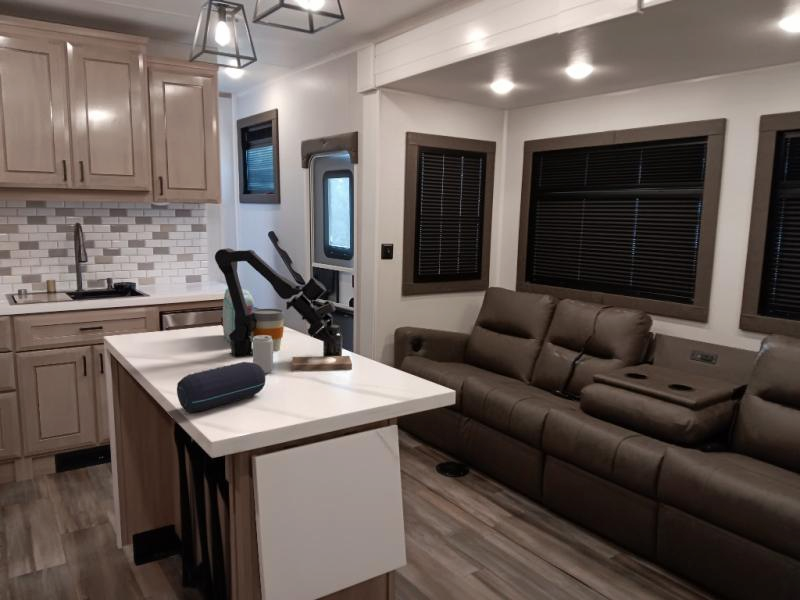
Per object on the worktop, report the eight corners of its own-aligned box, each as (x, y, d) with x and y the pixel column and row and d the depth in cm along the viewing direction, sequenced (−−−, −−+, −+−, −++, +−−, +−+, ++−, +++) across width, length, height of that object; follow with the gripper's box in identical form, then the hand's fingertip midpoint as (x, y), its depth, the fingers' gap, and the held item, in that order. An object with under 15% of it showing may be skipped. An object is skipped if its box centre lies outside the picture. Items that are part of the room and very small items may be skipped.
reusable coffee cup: (288, 346, 229) (288, 309, 227) (279, 354, 216) (278, 314, 214) (257, 345, 230) (257, 307, 228) (246, 352, 218) (245, 313, 215)
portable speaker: (247, 389, 173) (246, 356, 172) (269, 396, 167) (269, 362, 166) (169, 410, 153) (168, 373, 152) (191, 419, 147) (190, 381, 146)
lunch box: (220, 334, 249) (219, 284, 246) (244, 332, 254) (243, 283, 250) (230, 347, 225) (229, 292, 222) (257, 345, 230) (256, 291, 227)
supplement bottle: (319, 358, 211) (319, 326, 209) (330, 355, 217) (330, 323, 215) (335, 361, 208) (335, 328, 206) (345, 357, 214) (345, 325, 212)
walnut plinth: (292, 370, 194) (292, 364, 194) (292, 362, 205) (292, 356, 205) (351, 369, 198) (352, 363, 197) (349, 361, 208) (349, 355, 208)
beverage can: (268, 375, 188) (267, 339, 186) (249, 374, 189) (249, 337, 188) (276, 370, 194) (276, 335, 192) (258, 369, 195) (257, 334, 194)
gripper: (317, 298, 200) (348, 330, 201) (326, 291, 218) (355, 321, 219) (294, 320, 201) (325, 352, 203) (305, 311, 220) (334, 340, 221)
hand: (336, 340), depth 211 cm, fingers open, 9 cm apart
